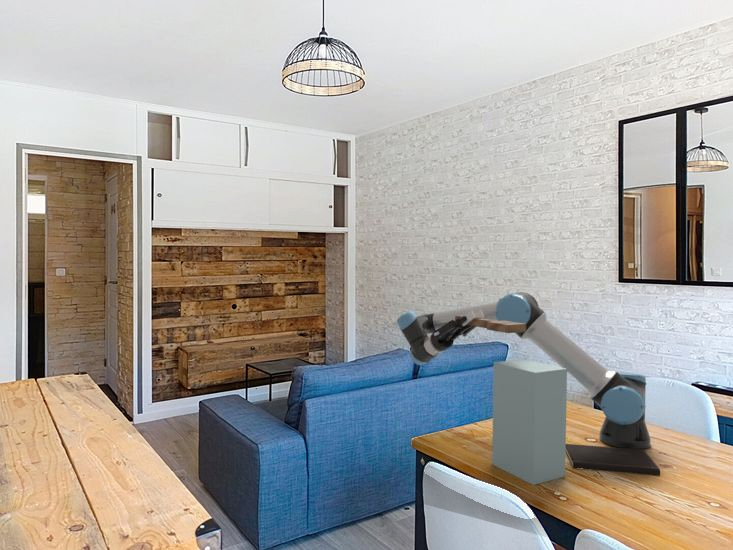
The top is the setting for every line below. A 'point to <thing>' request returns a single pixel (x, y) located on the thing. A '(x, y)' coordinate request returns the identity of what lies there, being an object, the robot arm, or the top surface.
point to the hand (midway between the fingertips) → (477, 313)
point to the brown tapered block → (497, 325)
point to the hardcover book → (611, 459)
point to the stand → (529, 420)
